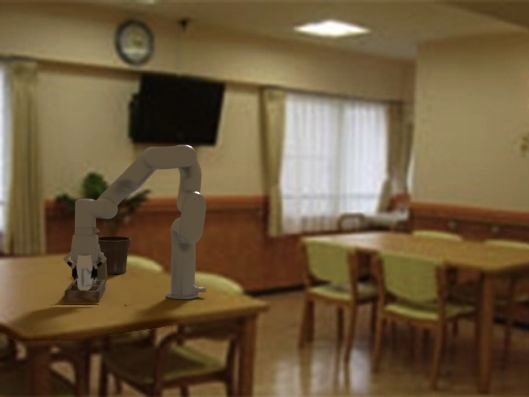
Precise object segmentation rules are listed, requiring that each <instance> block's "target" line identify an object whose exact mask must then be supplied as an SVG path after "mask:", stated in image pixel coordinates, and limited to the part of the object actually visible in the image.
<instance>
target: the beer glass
mask: <svg viewBox="0 0 529 397" xmlns="http://www.w3.org/2000/svg"><path fill="white" fill-rule="evenodd" d="M75 267H76V276H77V277H76V280H77V283H78V285H77V291H93V290H92V279H93V269H94V266H93V262H92V259H91V255H78V258H77V262H76V265H75Z"/></svg>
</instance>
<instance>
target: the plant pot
mask: <svg viewBox="0 0 529 397" xmlns="http://www.w3.org/2000/svg"><path fill="white" fill-rule="evenodd" d="M98 240H99V244H100V249H101V253H104V256H105V257H106V258H107V259H106V267H107V276H109V275H110V276H111V275H115V274H116V275H123V274H125V273H126V272H127V264H128V255H129V248H130V243H131V240H132V238H131V237H128V236H123V235H122V236H121V235H120V236H119V235H117V236H116V235H103V236H98Z"/></svg>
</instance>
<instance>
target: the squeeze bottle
mask: <svg viewBox="0 0 529 397" xmlns="http://www.w3.org/2000/svg"><path fill="white" fill-rule="evenodd" d="M99 252H100V253H101V249H100V244H99ZM101 254H102V255H104V253H101ZM101 260H102V259H101V258H100V257H99V259H98V261H97V263H99V262H100V261H101ZM108 279H109V278H108V275H107V267H106V261H105V262H104V263H103V264H102V265H101V266H100V267H99V268H98V277H96V280H106V282H107V281H108Z"/></svg>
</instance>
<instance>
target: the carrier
mask: <svg viewBox="0 0 529 397" xmlns="http://www.w3.org/2000/svg"><path fill="white" fill-rule="evenodd" d="M77 285H78V283H77V279H75V280H72V281H71V282H70V284H69V285H68V286H67V287H66V289H65V290H64V305H67V306H68V305H71V306H73V305H75V306H78V305H81V306H85V305H87V306H95V305H97V306H98V305H100V301H101V299H102V298H103V296H104V293H105V291H106V285H107V281H106V280H96V285H92V290H93V291H77Z"/></svg>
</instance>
